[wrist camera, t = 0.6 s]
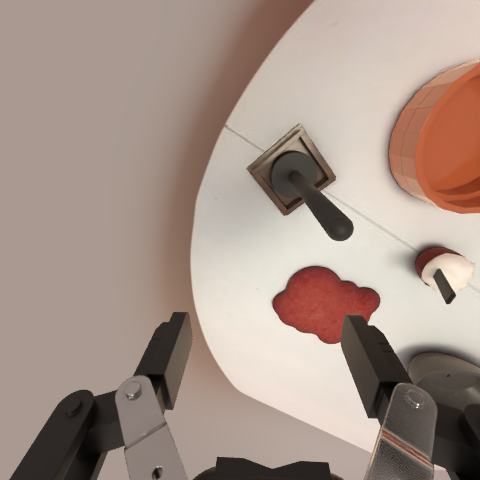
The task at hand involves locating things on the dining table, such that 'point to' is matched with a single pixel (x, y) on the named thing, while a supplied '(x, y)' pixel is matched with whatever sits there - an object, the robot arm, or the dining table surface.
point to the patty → (322, 303)
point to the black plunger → (308, 192)
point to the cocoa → (444, 271)
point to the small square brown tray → (289, 142)
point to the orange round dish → (441, 141)
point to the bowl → (446, 379)
